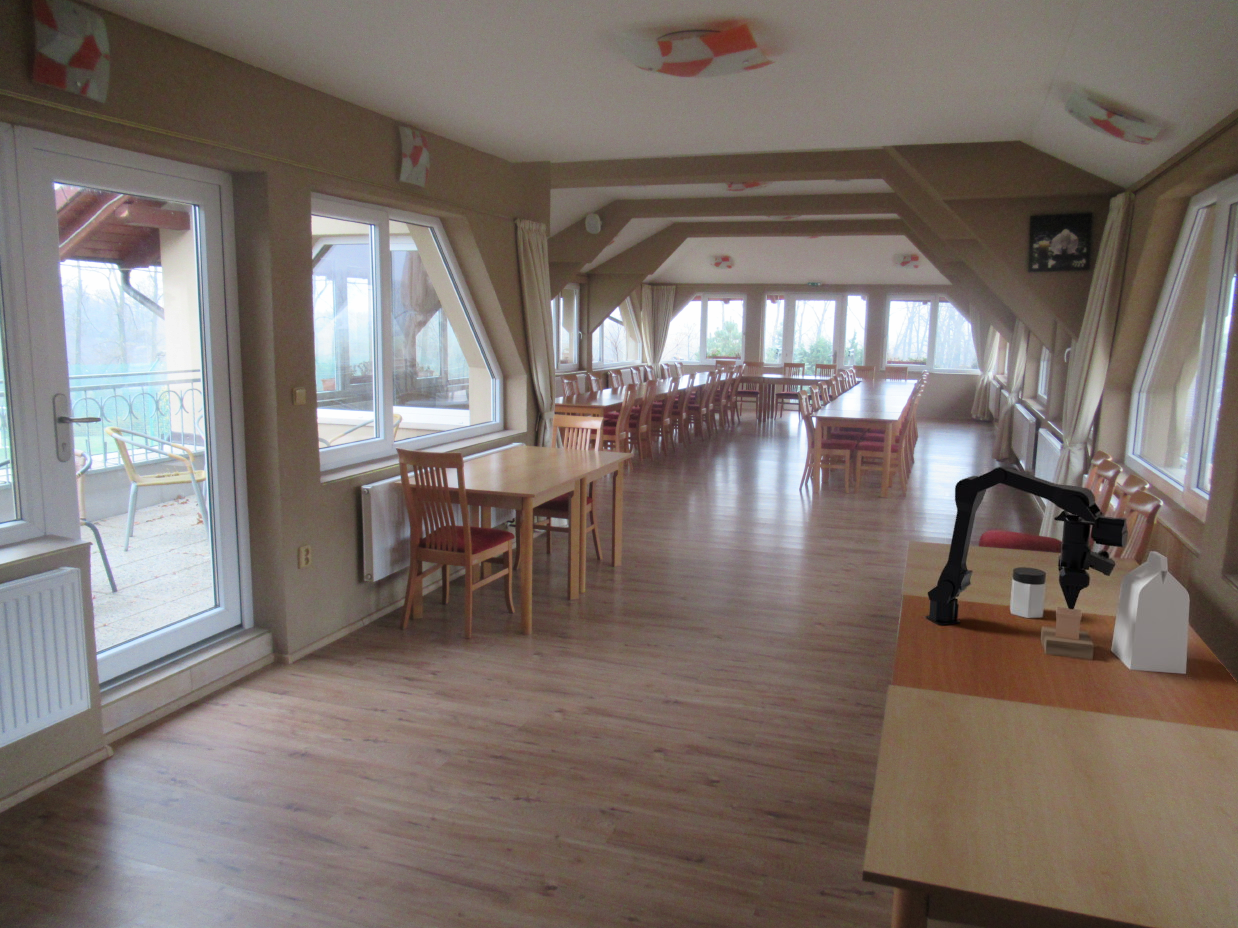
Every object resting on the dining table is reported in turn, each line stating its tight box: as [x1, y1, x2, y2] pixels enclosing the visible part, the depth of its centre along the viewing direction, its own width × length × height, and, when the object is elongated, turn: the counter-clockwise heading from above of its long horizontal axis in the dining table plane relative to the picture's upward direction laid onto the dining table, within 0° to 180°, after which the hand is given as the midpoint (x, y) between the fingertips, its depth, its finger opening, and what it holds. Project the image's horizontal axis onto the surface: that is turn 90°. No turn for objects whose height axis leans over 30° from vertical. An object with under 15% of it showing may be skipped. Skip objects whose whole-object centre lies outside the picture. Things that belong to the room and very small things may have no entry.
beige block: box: [1040, 625, 1095, 661], centre depth 206 cm, size 10×10×4 cm
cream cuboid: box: [1055, 606, 1083, 640], centre depth 206 cm, size 5×5×6 cm
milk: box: [1110, 550, 1191, 675], centre depth 197 cm, size 12×12×26 cm
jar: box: [1009, 566, 1047, 619], centre depth 232 cm, size 9×8×12 cm
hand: (1070, 603), depth 205 cm, fingers open, 9 cm apart
